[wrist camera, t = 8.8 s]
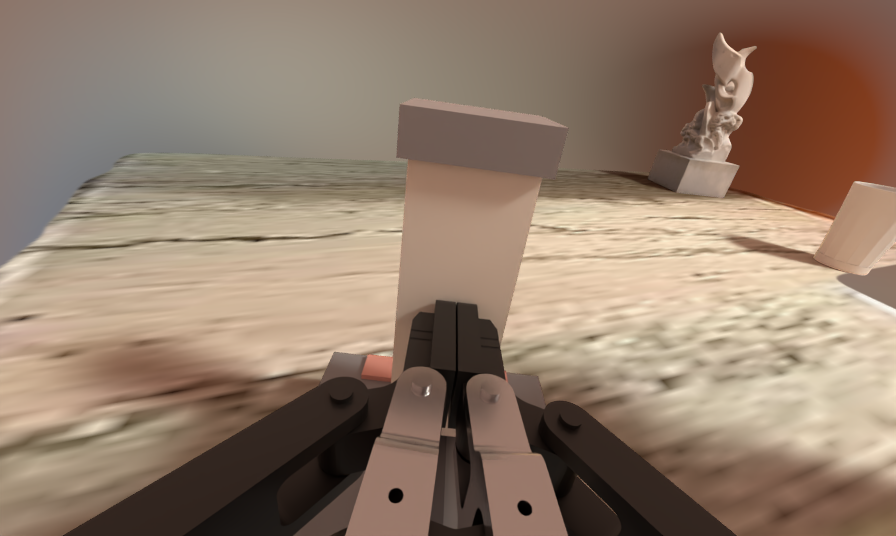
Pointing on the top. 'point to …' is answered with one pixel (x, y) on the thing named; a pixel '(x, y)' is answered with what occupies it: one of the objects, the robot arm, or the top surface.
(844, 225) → the cup
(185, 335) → the top surface
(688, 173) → the sculpture
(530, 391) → the switch base
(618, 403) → the top surface
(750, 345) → the top surface
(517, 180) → the handle
